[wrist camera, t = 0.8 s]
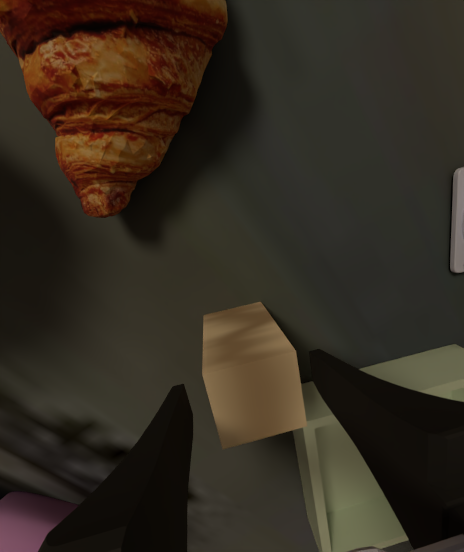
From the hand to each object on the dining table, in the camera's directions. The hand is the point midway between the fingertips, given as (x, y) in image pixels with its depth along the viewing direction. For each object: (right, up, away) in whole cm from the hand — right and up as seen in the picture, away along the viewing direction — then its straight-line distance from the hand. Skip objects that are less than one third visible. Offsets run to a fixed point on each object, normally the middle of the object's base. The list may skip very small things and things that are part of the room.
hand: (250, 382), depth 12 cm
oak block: (-1, +1, +5) cm, 6 cm away
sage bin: (+13, -10, +9) cm, 19 cm away
